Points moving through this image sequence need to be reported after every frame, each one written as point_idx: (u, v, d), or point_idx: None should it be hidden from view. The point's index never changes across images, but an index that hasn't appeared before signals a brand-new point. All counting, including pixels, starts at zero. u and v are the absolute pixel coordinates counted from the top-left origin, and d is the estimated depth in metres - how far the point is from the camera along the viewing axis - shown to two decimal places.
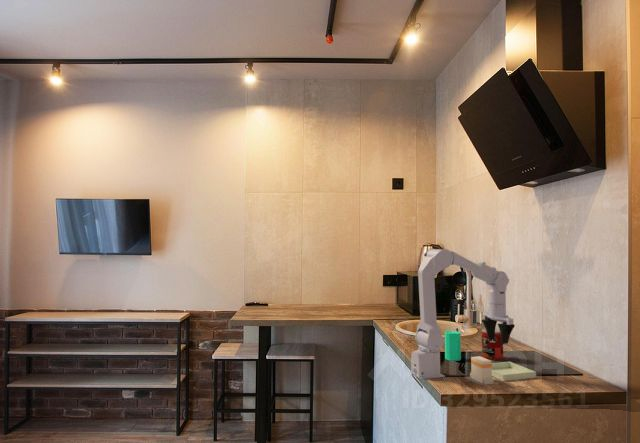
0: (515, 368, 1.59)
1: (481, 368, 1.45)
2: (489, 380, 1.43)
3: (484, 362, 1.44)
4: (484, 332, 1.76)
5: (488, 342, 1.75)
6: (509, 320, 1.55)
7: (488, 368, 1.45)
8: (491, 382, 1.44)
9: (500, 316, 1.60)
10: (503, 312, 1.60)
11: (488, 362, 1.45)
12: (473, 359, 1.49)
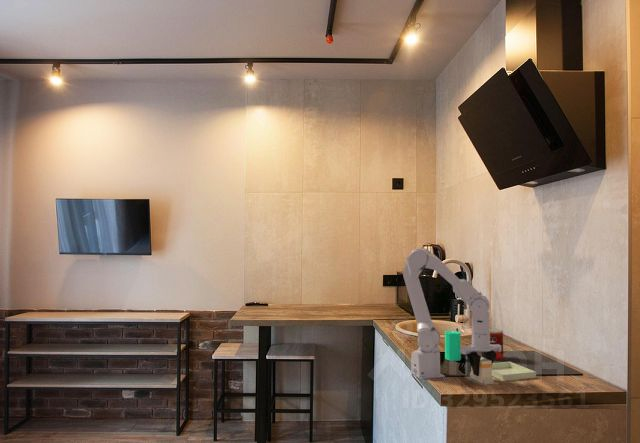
0: (515, 368, 1.59)
1: (481, 368, 1.45)
2: (489, 380, 1.43)
3: (484, 362, 1.44)
4: None
5: None
6: (460, 348, 1.46)
7: (488, 368, 1.45)
8: (491, 382, 1.44)
9: (472, 345, 1.48)
10: (474, 342, 1.47)
11: (488, 362, 1.45)
12: None
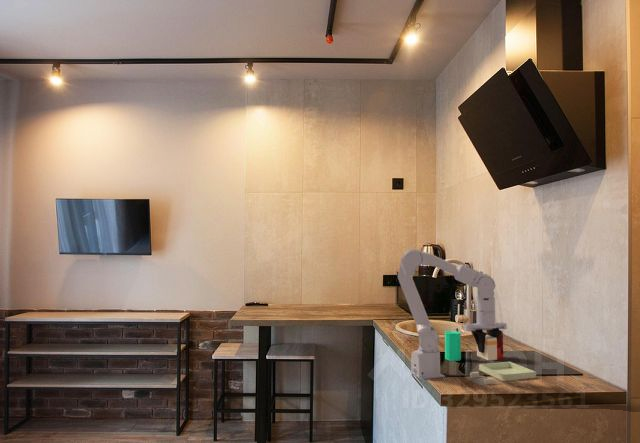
0: (515, 368, 1.59)
1: (486, 345, 1.46)
2: (489, 380, 1.43)
3: (489, 339, 1.46)
4: (484, 332, 1.76)
5: None
6: (466, 326, 1.48)
7: (493, 345, 1.46)
8: (491, 382, 1.44)
9: (477, 323, 1.50)
10: (479, 319, 1.48)
11: (493, 339, 1.46)
12: None
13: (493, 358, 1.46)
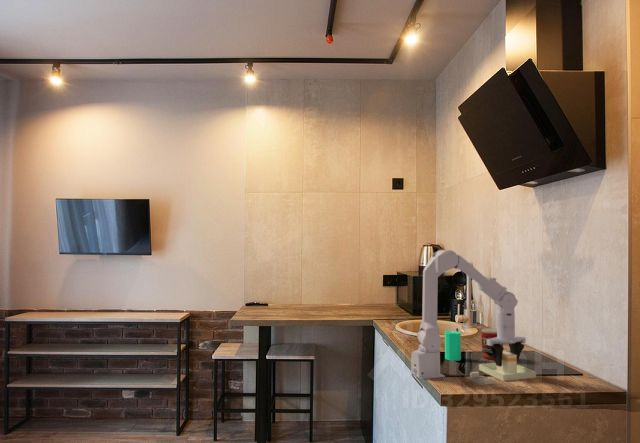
0: None
1: (506, 362, 1.52)
2: (489, 380, 1.43)
3: (509, 356, 1.52)
4: (484, 332, 1.76)
5: None
6: (487, 340, 1.54)
7: (513, 362, 1.52)
8: (491, 382, 1.44)
9: (497, 337, 1.55)
10: (500, 334, 1.54)
11: (513, 356, 1.52)
12: None
13: None
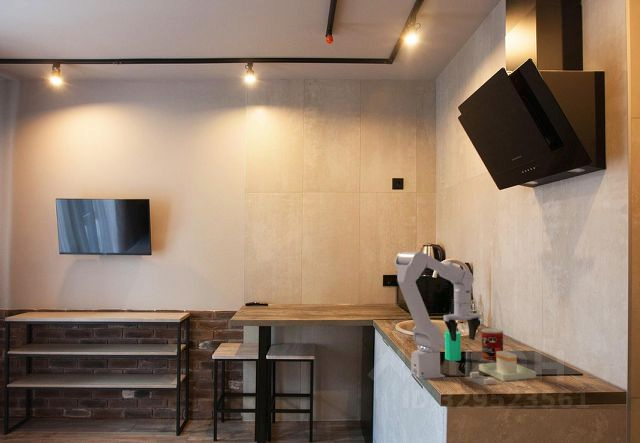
0: None
1: (506, 362, 1.52)
2: (489, 380, 1.43)
3: (509, 356, 1.52)
4: (484, 332, 1.76)
5: (488, 342, 1.75)
6: (444, 316, 1.62)
7: (513, 362, 1.52)
8: (491, 382, 1.44)
9: (454, 314, 1.63)
10: (456, 310, 1.62)
11: (513, 356, 1.52)
12: (498, 353, 1.56)
13: None
